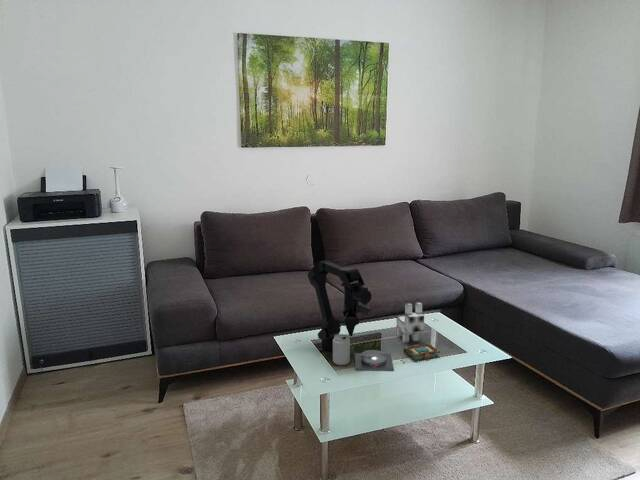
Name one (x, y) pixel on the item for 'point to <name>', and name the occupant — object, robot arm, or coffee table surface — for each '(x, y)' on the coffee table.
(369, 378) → the coffee table surface
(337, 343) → the can
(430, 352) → the decorative book
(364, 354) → the square metal dish
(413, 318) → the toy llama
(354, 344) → the coffee table surface
